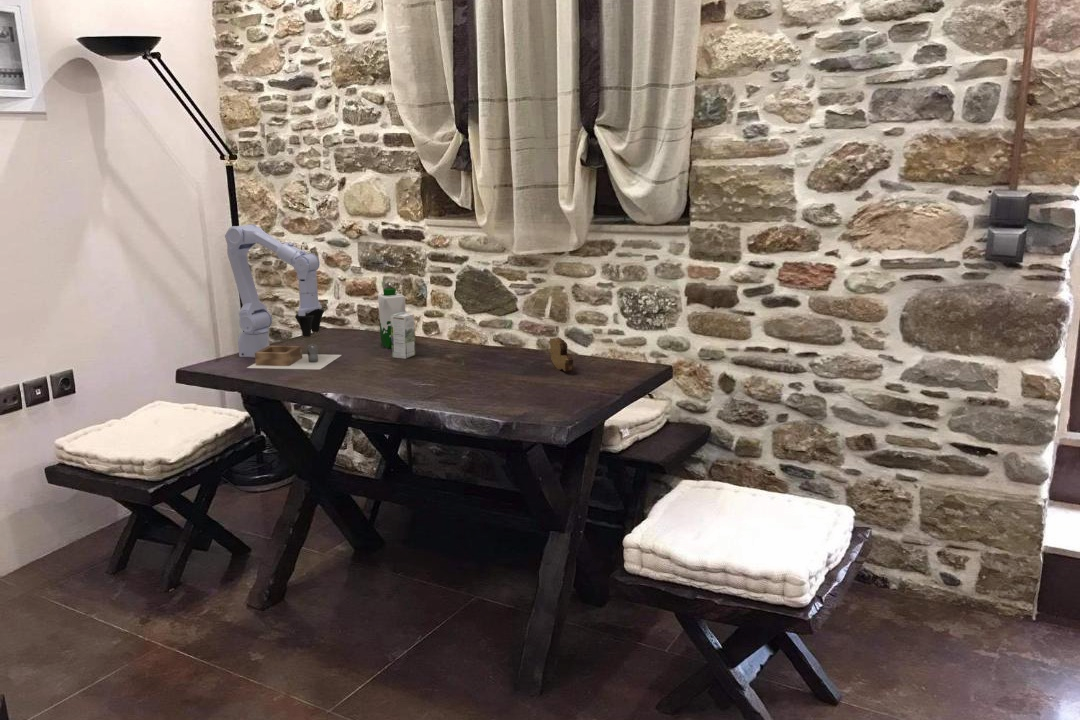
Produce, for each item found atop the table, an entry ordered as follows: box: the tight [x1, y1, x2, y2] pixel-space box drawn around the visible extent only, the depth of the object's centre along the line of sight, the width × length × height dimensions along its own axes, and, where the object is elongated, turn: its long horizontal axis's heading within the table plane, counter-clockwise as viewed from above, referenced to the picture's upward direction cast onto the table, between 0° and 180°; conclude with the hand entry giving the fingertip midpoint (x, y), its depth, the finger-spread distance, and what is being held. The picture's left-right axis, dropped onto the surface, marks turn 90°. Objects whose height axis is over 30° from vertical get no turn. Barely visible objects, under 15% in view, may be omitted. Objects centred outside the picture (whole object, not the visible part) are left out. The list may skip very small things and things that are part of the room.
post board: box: [246, 344, 342, 370], centre depth 283 cm, size 24×20×6 cm
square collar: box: [254, 345, 303, 366], centre depth 282 cm, size 11×11×4 cm
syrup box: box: [391, 312, 416, 359], centre depth 291 cm, size 6×6×14 cm
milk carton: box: [377, 287, 407, 350], centre depth 307 cm, size 9×9×20 cm
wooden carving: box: [548, 336, 574, 372], centre depth 273 cm, size 16×5×10 cm, turn 23°
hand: (311, 334), depth 283 cm, fingers open, 7 cm apart
